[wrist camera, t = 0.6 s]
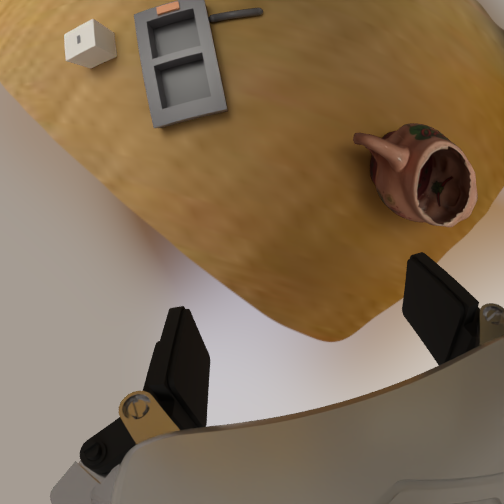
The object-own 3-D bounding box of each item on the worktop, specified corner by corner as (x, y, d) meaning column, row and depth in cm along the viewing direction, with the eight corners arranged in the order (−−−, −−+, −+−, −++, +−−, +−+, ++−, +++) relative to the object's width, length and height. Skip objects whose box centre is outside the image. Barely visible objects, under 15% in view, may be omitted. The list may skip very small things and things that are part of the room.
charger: (88, 44, 25) (63, 34, 19) (114, 32, 25) (92, 18, 19) (90, 68, 27) (65, 60, 21) (117, 56, 27) (94, 45, 21)
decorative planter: (315, 181, 37) (355, 210, 24) (337, 99, 32) (389, 89, 19) (420, 216, 40) (474, 251, 27) (441, 149, 35) (501, 165, 22)
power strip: (141, 22, 25) (132, 13, 21) (258, -4, 25) (260, -16, 21) (161, 127, 32) (152, 128, 29) (282, 102, 32) (288, 98, 28)
